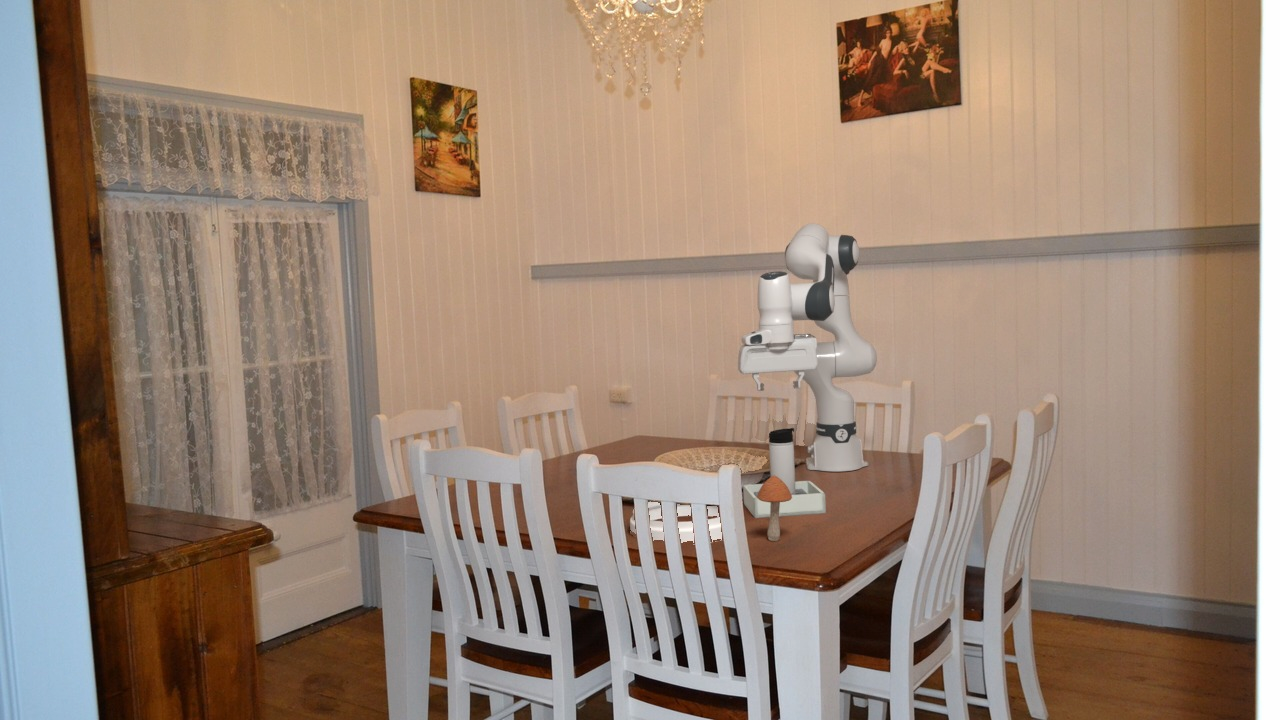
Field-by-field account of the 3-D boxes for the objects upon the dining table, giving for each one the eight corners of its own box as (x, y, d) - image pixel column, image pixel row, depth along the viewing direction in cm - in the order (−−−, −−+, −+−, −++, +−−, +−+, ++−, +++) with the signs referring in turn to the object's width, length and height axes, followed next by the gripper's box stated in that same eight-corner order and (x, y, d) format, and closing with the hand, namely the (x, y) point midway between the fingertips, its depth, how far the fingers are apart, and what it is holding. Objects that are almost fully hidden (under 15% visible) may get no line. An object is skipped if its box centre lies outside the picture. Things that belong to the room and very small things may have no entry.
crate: (743, 503, 252) (743, 485, 252) (810, 498, 253) (809, 480, 253) (755, 518, 236) (754, 498, 236) (825, 513, 237) (825, 493, 237)
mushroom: (801, 539, 214) (798, 474, 213) (775, 547, 210) (772, 480, 209) (777, 533, 221) (774, 470, 220) (751, 540, 216) (748, 475, 215)
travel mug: (796, 508, 241) (793, 430, 239) (770, 508, 242) (767, 430, 241) (798, 502, 247) (795, 426, 245) (772, 502, 248) (769, 426, 247)
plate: (615, 526, 237) (614, 504, 237) (713, 511, 246) (712, 491, 246) (654, 552, 212) (652, 528, 212) (761, 535, 221) (760, 512, 221)
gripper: (813, 332, 245) (815, 385, 246) (735, 337, 244) (737, 390, 245) (819, 333, 239) (821, 388, 240) (739, 338, 238) (742, 393, 239)
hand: (778, 389), depth 243 cm, fingers open, 8 cm apart
